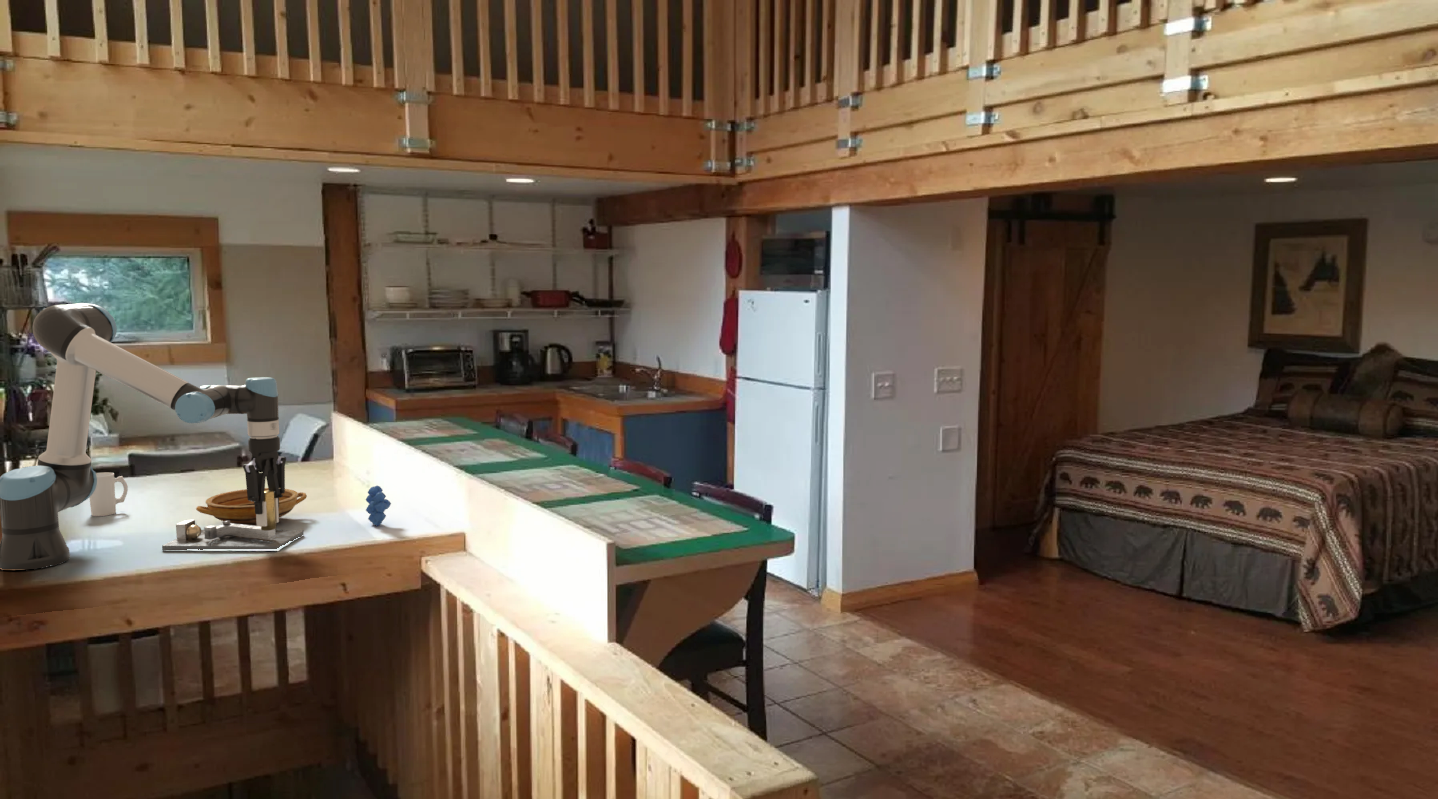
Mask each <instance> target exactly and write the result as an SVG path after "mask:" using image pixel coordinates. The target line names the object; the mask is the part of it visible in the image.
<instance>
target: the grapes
mask: <svg viewBox="0 0 1438 799" xmlns="http://www.w3.org/2000/svg"><path fill="white" fill-rule="evenodd" d="M367 494H368V495H367V497H366V499H365V501H366V502H367V503H368V506H367V507H366V509H365V511H366V513H367V514H369V516H368V518H367V519H368V521H369V522H370V523H372V524H373V525H374V526H375V525H379V526H381V524H382V523H383V522H384V520H385V518H386V517H387V515H386V513H385V512H386V510H388V509H389V508H390V506H391V505H392V503H391V501H390V500H388V499H387V498H386V497H387V496H386V495H385V493H384V492H383V488H382V487H381V486H379V485H375V486H371V487H370V488H369V489H368V491H367Z"/></svg>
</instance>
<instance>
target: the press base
mask: <svg viewBox="0 0 1438 799" xmlns="http://www.w3.org/2000/svg"><path fill="white" fill-rule="evenodd" d="M175 532H176V533H175V534H176V538H175V539H173V540H171V541H169V542H167V543H165V544H162V550H187V549H198V550H199V549H200V550H203V549H277V548H279V547H280V546H282V545H285V544H286V543H288V542H289V541H293V540H294V539H296V538H298V537H301V536H302V535H305V534H304V530H285V529H284V530H276V529H275V536H276V537H274V538H271V539H260V538H251V537H242V536H233V535H224V536H221V537H218V538H215V539H212V540H208V539H205V532H204V529H201V527H200V526H199V525H197V524H196V519H185V520H182V521H180V522H177V523H176V524H175ZM301 538H302V537H301ZM162 550H161V551H162Z"/></svg>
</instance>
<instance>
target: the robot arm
mask: <svg viewBox="0 0 1438 799" xmlns="http://www.w3.org/2000/svg"><path fill="white" fill-rule="evenodd" d="M32 334H33V336H34V338H35V341H36V342H37V343H38V344H39V345H40V346H41V347H42V348H43V349H45V350H46V351H48V352H50V354H51V355H52V356H53V357H54V359H56V367H55V368H56V370H55V376H54V377H55V378H54V387H53V394H52V401H51V402H52V403H51V409H50V410H51V411H50V417H49V427H48V434H47V443H46V450H45V451H44V452H42V453H40V454H39V455H38V457H37V458H38V459H37V465H30V466H25V467H22V468H14V469H12V470H9V471H7V472H5V473H3V474H2V475H1V476H0V525H1V534H2V535H1V536H2V537H1V540H0V568H2V569H34V570H37V569H36V568H41V569H43V568H42V567H46V566H50V565H54V566H58V565H61V564H63V563H65V562H64V561H66V562H67V561H69V560H70V559H71V554H70V548H69V547H68V545H67V542H66V540H65V538H64V536H63V534H62V532H61V530H60V525H59V524H60V523H59V513H61V512H63V511H65V510H67V509H69V508H73V507H76V506H79V505H81V504H82V503H84V502H85V501H87V500H88V499H90V496H91V495H92V494H93V492H94V491H95V489H96V486H97V476H96V473H97V472H96V471H95V470H94V469H93V466H92V458H91V457H90V456H89V455H88V454H87V453H86V452H87V443H88V436H89V428H90V419H91V414H92V413H91V412H92V405H93V399H94V398H93V396H94V389H95V382H96V381H95V380H96V373H97V372H98V373H100V374H102V375H104V376H106V377H107V378H110V379H112V380H114V381H116V382H118V383H120V384H122V385H124V386H126V387H128V388H130V389H131V390H134V391H136V392H137V393H139V394H142V395H144V396H145V397H147V398H149V399H151V400H153V401H156V402H157V403H159V404H161V405H163V406H165V407H167V408H169V409H171V410H173V411H175V414H176V415H177V417H178V418H179V419H180V420H181V421H183V422H185V423H188V424H198V423H199V424H200V423H204V422H207V421H208V420H211V419H213V418H217V417H221V416H223V415H246V421H247V422H246V423H247V436H249V438H248V440H247V442H248V445H247V446H248V451H249V452H250V454H251V458H250V462H248V463H245V464H243V465H242V468H243V471H244V473H245V484H246V489H247V498H248V501H252V502H254V504H255V514H256V523H257V526H267V509H266V502H265V501H264V491H265V488H266V483H267V488H268V489H269V490H272V491H274V502H275V520H276V524H277V523H279V522H280V518H279V512H278V509H279V497H280V498H281V497H282V496H283V494H284V492H285V489H286V484H285V483H286V475H285V474H286V470H285V468H286V467H285V466H286V463H287V457H286V456H280V455H279V453H278V451H280V450H281V440H280V436H278V435H279V434H280V426H279V425H280V423H279V420H280V419H279V392H278V391H279V390H278V383H277V380H276V378H274V377H270V376H269V377H267V376H265V377H264V376H261V377H260V376H259V377H258V376H257V377H255V376H254V377H248V378H246V379H245V384H244V385H243V384H242V385H233V384H231V385H229V384H228V385H227V384H226V385H225V384H223V385H222V384H221V385H220V384H210V385H209V384H208V385H201V386H200V387H198V386H195V385H194V384H192V383H189V381H187V380H184V379H183V378H181V377H178V376H176V375H175V374H173V373H171V372H169V371H167V370H165V369H164V368H161V367H159V366H158V365H155V364H154V363H151V362H149V361H147V360H145V359H144V358H141V357H140V356H137V354H134V353H131V352H130V351H128V350H126V349H124V348H122V347H120V346H118V345H116V344H115V343H112V342H113V341H114V340H115V338H116V335H117V323H116V320H115V319H114V316H113V315H111V313H110V312H109V311H108V310H107V309H105V308H104V307H102V306H101V305H97V304H93V303H86V302H85V303H84V302H79V303H72V304H71V303H70V304H69V303H68V304H54V305H50V306H47V307H46V308H43V309H42V310H40V312H39V313H37V315H36V316H35V318H34V320H33V323H32ZM279 488H280V489H279ZM69 558H70V559H69ZM68 559H69V560H68ZM62 562H63V563H62ZM60 563H61V564H60ZM57 564H58V565H57ZM50 567H51V566H50ZM46 568H47V567H46Z"/></svg>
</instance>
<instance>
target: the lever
mask: <svg viewBox="0 0 1438 799" xmlns="http://www.w3.org/2000/svg"><path fill="white" fill-rule="evenodd" d="M264 501H265V502H266V509H267V526H252V525H243V524H233V523H230V521H222V524H219V525H207V526H204V527H203V530H204V532H205V539H208V540H212V539H215V538H218V537H221V536H224V535H233V536H242V537H251V538H260V539H271V538H274V537H276V536H275V530H276V529H277V523H276V520H275V502H274V491H272V490H266V491H264Z"/></svg>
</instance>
